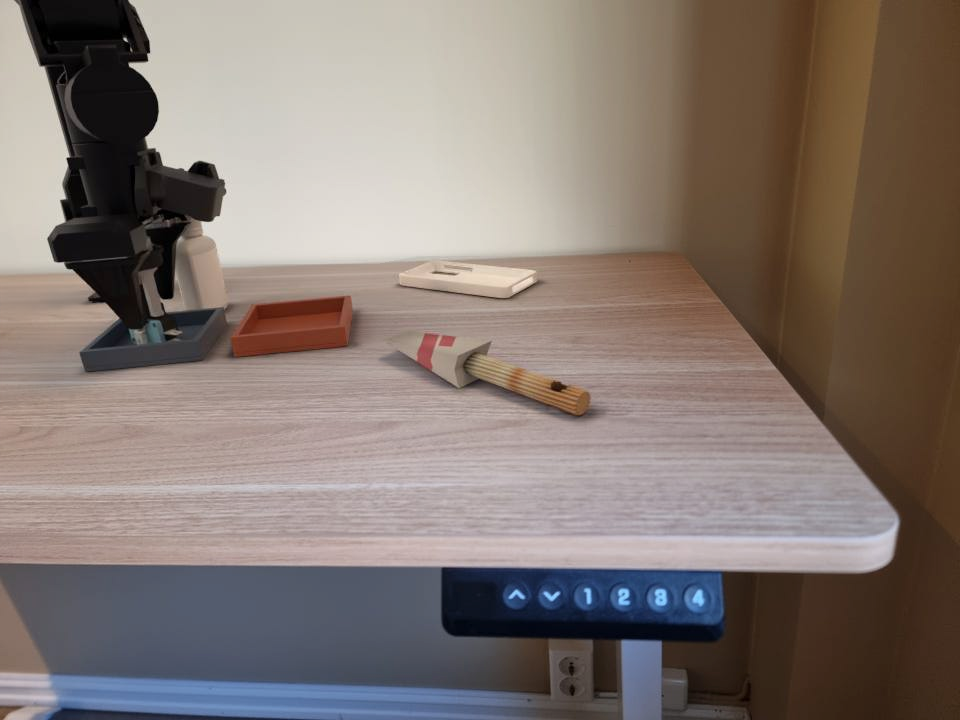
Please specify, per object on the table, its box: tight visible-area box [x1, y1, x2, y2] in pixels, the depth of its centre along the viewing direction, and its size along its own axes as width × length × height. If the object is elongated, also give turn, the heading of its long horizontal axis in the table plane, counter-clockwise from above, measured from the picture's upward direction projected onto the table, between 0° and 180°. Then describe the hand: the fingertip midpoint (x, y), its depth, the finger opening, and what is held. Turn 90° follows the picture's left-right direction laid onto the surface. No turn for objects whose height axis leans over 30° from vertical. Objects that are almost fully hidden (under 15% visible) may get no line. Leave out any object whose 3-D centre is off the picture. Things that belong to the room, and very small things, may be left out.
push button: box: [129, 236, 182, 345], centre depth 63 cm, size 7×5×10 cm
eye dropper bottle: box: [175, 217, 229, 311], centre depth 73 cm, size 4×6×12 cm
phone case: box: [398, 260, 538, 299], centre depth 79 cm, size 7×1×15 cm
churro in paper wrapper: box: [383, 330, 592, 416], centre depth 53 cm, size 4×3×20 cm
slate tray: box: [78, 307, 228, 373], centre depth 65 cm, size 10×10×2 cm
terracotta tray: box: [230, 294, 354, 358], centre depth 67 cm, size 10×10×2 cm
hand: (153, 312), depth 64 cm, fingers open, 9 cm apart
